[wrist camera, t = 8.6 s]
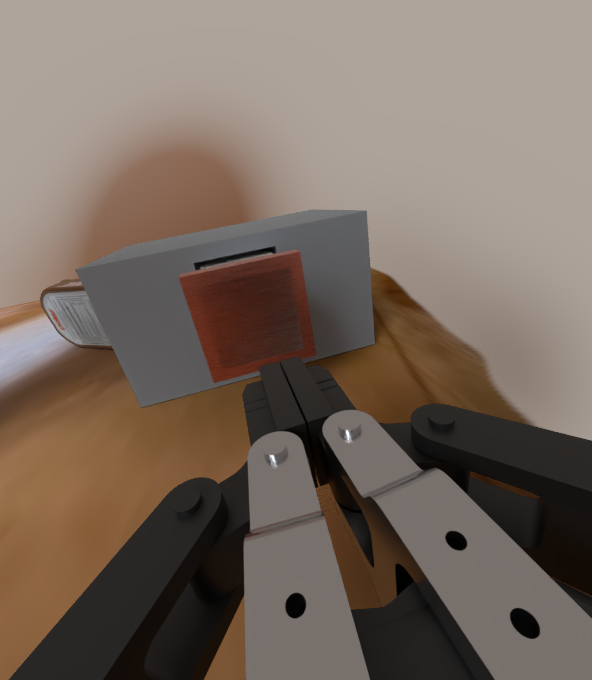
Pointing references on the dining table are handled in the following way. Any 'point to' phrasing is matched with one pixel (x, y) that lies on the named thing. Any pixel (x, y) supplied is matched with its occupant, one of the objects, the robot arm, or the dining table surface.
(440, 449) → the robot arm
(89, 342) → the tin
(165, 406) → the dining table surface
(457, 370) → the dining table surface
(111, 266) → the socket block
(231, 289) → the plug
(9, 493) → the dining table surface
